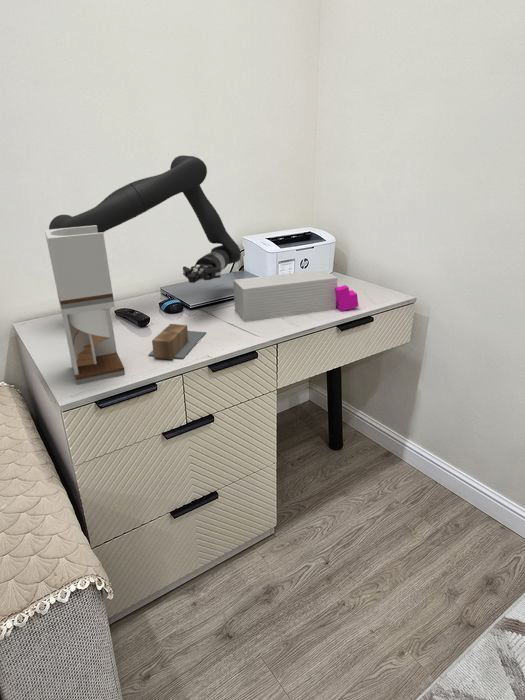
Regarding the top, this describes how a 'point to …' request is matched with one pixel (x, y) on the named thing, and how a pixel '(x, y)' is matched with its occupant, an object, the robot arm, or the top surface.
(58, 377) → the top surface
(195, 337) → the rubber mat
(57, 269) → the white open-top tower
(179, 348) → the walnut block
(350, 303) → the toy block
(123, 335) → the top surface
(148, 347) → the top surface
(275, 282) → the long grey block
